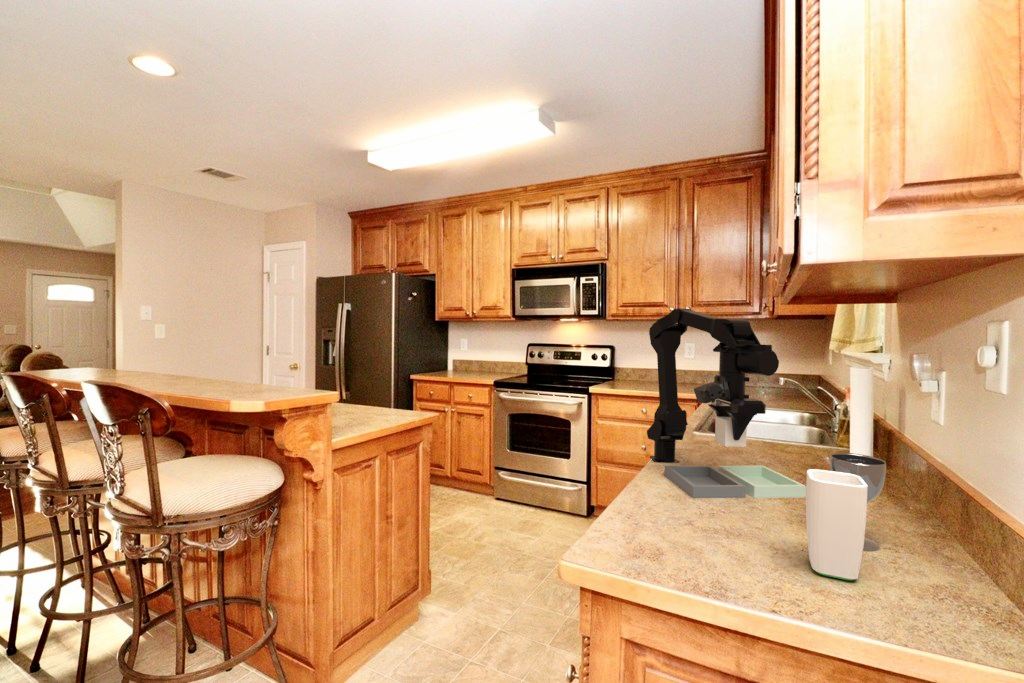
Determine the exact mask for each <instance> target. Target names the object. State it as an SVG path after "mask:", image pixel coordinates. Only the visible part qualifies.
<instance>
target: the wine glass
mask: <svg viewBox="0 0 1024 683" xmlns="http://www.w3.org/2000/svg"><path fill="white" fill-rule="evenodd" d="M830 471H834V472H842V473H849V474H854V475H857V476H859V477H861V478H862V479H863V480H864V482H865V483H866V484H867V485H868V487H867V505H868V504H870V502H872V501H873V500H875V499H876V498H877V497H878V496H879V495H880V494H881V492H882V490H883V487H884V484H885V481H886V480H885V479H886V471H887V463H886V461H885V460H883V459H881V458H878V457H875V456H871V455H865V454H859V453H851V452H833V453H830ZM880 547H881V546H880V545H879V544H878V542H875V541H874V540H872V539H869V538H867V537H864V546H863V552H876V551H879V550H880V549H881V548H880Z"/></svg>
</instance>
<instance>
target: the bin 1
mask: <svg viewBox="0 0 1024 683" xmlns="http://www.w3.org/2000/svg"><path fill="white" fill-rule="evenodd" d="M664 477H666V478H667V479H668V481H671V482H672V483H673V484H674V485H676V486H677V487H678V488H679V489H681V490H682V491H683V492H685V493H686V494H687V495H688V496H690V497H691V498H692V499H746V495H747V493H746V486H744V485H743V484H741V483H739V482H738V481H736V480H734V479H733V478H731V477H729V476H727V475H726V474H724V473H722V472H721V471H719V470H718V468H716V467H714V466H712V465H664Z"/></svg>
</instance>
